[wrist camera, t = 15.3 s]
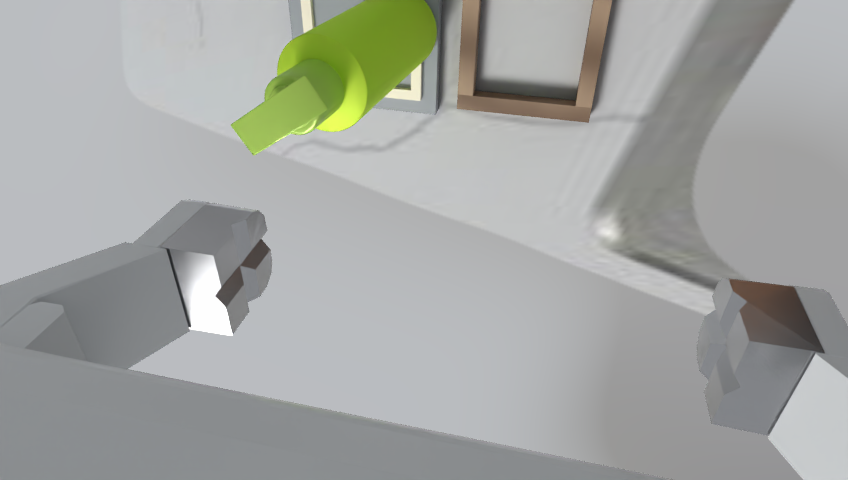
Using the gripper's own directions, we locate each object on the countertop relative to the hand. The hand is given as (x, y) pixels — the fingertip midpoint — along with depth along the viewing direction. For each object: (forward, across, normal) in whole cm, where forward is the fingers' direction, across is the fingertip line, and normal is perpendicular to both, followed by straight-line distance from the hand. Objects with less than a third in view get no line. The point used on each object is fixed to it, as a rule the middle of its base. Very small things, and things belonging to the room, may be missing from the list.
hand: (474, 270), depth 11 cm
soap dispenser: (+36, +10, +5) cm, 38 cm away
